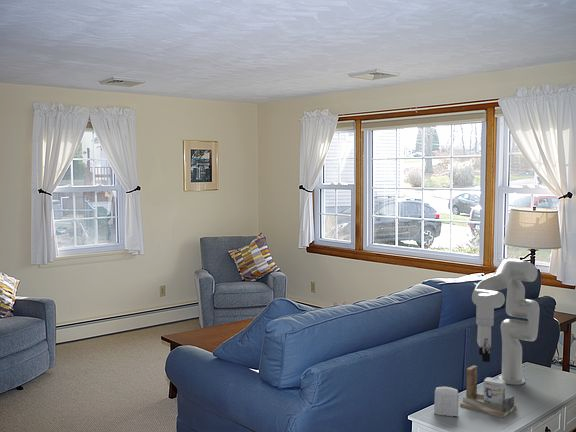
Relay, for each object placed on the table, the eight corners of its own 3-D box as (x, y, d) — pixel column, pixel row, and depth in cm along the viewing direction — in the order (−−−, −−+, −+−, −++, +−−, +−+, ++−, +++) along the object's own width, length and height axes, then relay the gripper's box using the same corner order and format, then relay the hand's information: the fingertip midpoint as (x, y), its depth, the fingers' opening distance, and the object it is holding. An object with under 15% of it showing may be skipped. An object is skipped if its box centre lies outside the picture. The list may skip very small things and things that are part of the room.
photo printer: (458, 413, 269) (458, 386, 268) (458, 417, 265) (458, 390, 264) (434, 411, 272) (434, 384, 271) (433, 415, 268) (434, 387, 267)
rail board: (474, 397, 288) (474, 383, 288) (516, 408, 275) (516, 394, 274) (460, 405, 278) (460, 391, 277) (502, 417, 264) (503, 403, 264)
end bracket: (472, 396, 285) (473, 365, 283) (476, 397, 283) (477, 366, 282) (466, 400, 280) (466, 368, 279) (470, 401, 279) (470, 369, 277)
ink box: (505, 405, 274) (505, 380, 273) (502, 409, 270) (503, 383, 269) (486, 401, 279) (486, 376, 278) (482, 405, 274) (483, 379, 273)
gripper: (473, 316, 284) (473, 352, 285) (479, 325, 267) (478, 363, 268) (490, 316, 282) (490, 352, 284) (496, 326, 265) (496, 364, 267)
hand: (484, 358), depth 276 cm, fingers open, 9 cm apart
